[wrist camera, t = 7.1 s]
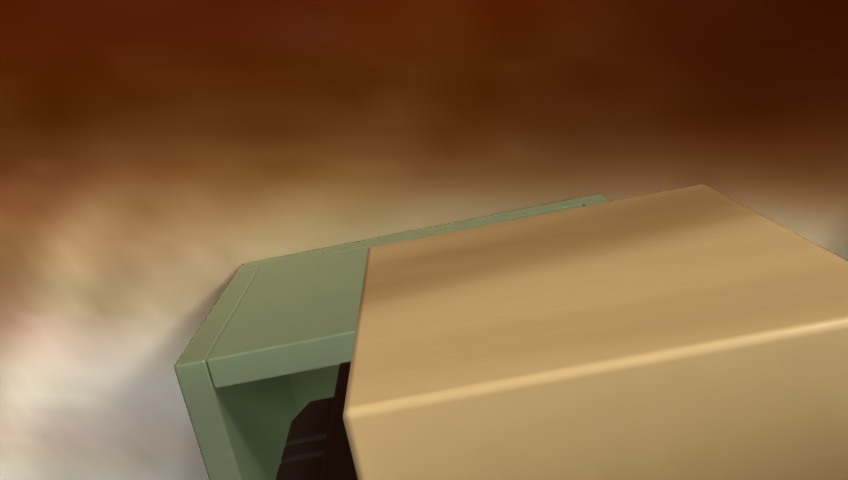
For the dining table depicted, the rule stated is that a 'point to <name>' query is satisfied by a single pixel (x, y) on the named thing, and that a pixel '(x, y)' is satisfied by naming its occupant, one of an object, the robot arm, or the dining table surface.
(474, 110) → the dining table surface
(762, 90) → the dining table surface
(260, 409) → the chest
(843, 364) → the block
